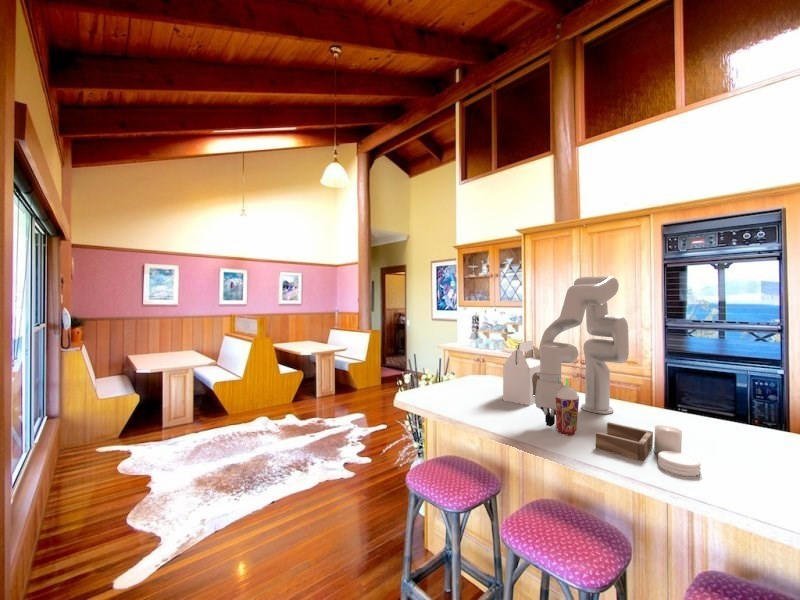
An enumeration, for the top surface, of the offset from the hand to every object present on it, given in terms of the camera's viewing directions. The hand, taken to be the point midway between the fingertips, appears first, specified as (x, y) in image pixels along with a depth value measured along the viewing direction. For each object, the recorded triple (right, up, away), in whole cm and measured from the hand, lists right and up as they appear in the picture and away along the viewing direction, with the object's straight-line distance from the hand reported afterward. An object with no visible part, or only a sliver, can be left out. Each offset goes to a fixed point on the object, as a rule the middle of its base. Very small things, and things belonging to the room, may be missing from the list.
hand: (550, 425), depth 140 cm
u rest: (+17, -2, -17) cm, 24 cm away
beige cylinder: (+29, -2, -22) cm, 36 cm away
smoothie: (+4, -2, -4) cm, 6 cm away
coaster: (+25, -2, -32) cm, 41 cm away
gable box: (+5, -1, +41) cm, 41 cm away
